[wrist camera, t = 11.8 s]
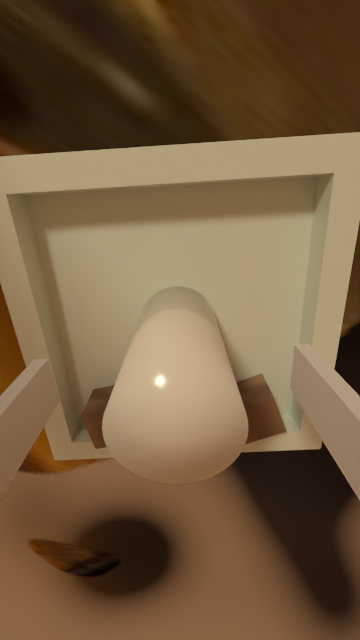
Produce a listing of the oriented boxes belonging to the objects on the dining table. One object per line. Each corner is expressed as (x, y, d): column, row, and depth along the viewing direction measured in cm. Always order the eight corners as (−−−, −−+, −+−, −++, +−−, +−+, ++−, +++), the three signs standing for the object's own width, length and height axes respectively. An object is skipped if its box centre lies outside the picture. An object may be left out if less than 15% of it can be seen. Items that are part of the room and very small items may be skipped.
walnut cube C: (236, 415, 26) (245, 444, 23) (224, 386, 25) (231, 413, 22) (273, 403, 26) (286, 431, 22) (261, 373, 24) (274, 398, 21)
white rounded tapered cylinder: (145, 356, 24) (113, 486, 13) (136, 288, 21) (89, 374, 10) (215, 352, 24) (246, 481, 12) (214, 284, 21) (251, 365, 10)
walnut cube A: (106, 419, 26) (95, 449, 23) (93, 389, 25) (80, 416, 22) (141, 412, 26) (136, 441, 23) (130, 381, 25) (123, 407, 21)
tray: (66, 435, 28) (54, 460, 25) (-6, 166, 19) (-38, 159, 16) (306, 424, 27) (320, 448, 25) (345, 142, 19) (374, 131, 16)
